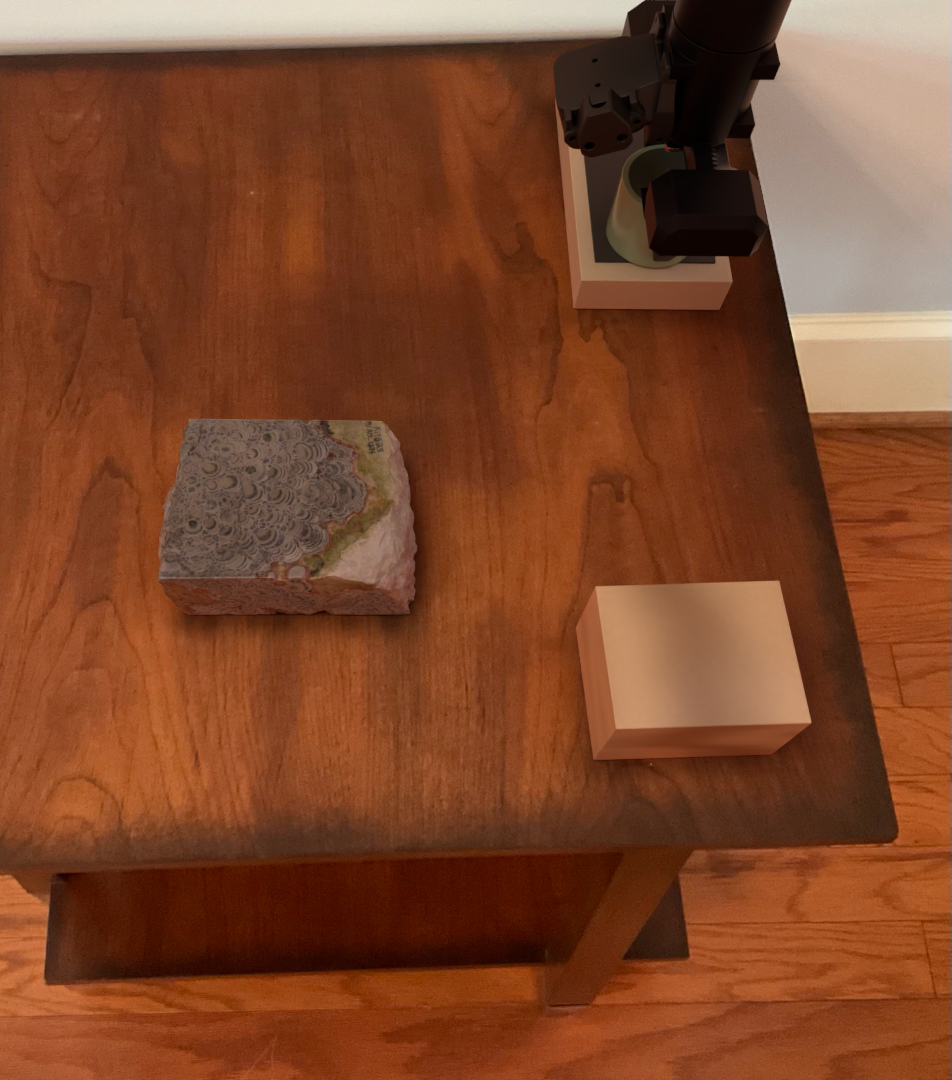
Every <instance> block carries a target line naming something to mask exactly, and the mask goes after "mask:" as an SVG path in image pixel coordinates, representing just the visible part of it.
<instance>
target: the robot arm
mask: <svg viewBox="0 0 952 1080" xmlns="http://www.w3.org/2000/svg"><path fill="white" fill-rule="evenodd" d="M791 3H792V0H643V1H641V2H639V4H637V5H636V6H634V7H633V8H632V9H630V10H629V11H627V13H626V16H625V21H624V25H623V29H622V33H621V36H617V37H612V38H610V39H609V38H608V39H606V40H602V41H598V42H596V43H592V44H589V45H585V46H582V47H581V46H580V47H578V48H577V47H576V48H575V49H571V50H570V49H569V50H567V51H565V52H563V53H561V54H560V55H559V56H558V57H557V58H555V60H554V62H553V65H552V70H553V82H554V83H553V84H554V93H555V99H556V104H557V108H558V112H559V116H560V120H561V124H562V128H563V133H564V141H565V143H566V144H567V145H568V146H569V147H571V148H573V149H580V150H581V154H582V155H584V156H586V157H589V158H592V157H597V156H601V155H605V154H609V153H613V152H617V151H621V150H624V149H627V148H628V147H629V146H630V145H631V144H632V142H633V136H632V133H635V132H637V131H639V130H641V129H642V128H643V127H644V148H645V147H648V146H653V145H660V144H664V145H665V150H666V151H667V152H681V151H683V155H684V161H685V167H686V169H671V170H669V171H667V172H665V173H664V174H662V175H660V176H659V177H657V178H655V179H654V180H652V181H651V182H650V185H649V188H647V187H641V188H640V191H641V199H642V207H643V214H644V219H645V222H646V230H647V237H648V245H649V249H651V250H652V251H653V261H656V262H667V261H670V260H672V259H673V258H675V257H676V256H728V257H736V258H737V257H739V258H742V257H744V258H746V257H747V258H748V257H749V258H750V257H751V256H752V255H753V254H754V253H755V252H756V251H758V249H759V247H760V246H761V243H762V241H763V239H764V237H765V235H766V233H767V231H768V228H769V221H768V218H767V212H766V208H765V201H764V198H763V192H762V187H761V182H760V181H759V180H758V179H757V177H756V176H755V175H754V174H753V173H752V171H750V170H749V169H737V168H735V167H732V166H731V163H730V158H729V152H728V146H727V139H750V138H751V137H752V134H753V131H754V129H755V126H756V122H755V117H754V111H753V106H752V100H753V98H754V95H755V92H756V90H757V88H758V85H759V82H760V81H775V79H776V76H777V75H778V71H779V69H780V66H781V61H780V56H779V52H778V47H777V43H776V40H777V38H778V35H779V34H780V33H779V32H780V30H781V28H782V26H783V23H784V20H785V19H786V16H787V13H788V10H789V8H790V5H791Z"/></svg>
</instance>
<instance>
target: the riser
mask: <svg viewBox="0 0 952 1080" xmlns="http://www.w3.org/2000/svg"><path fill="white" fill-rule="evenodd" d="M575 633H576V641H577V647H578V656H579V663H580V670H581V677H582V678H581V679H582V686H583V691H584V692H583V693H584V700H585V708H586V715H587V723H588V731H589V737H590V745H591V753H592V759H593V761H607V760H611V761H613V760H638V759H640V760H641V759H666V758H667V759H670V758H671V759H673V758H697V757H698V758H704V757H706V758H707V757H734V756H738V757H739V756H766V755H769V756H770V755H773V754H774V753H776V752H777V751H778V750H779V749H781V748H782V747H783V746H784V745H786V744H787V743H788V742H790V741H791V740H792V739H793V738H795V737H796V736H797V735H799V734H800V733H801V732H802V731H803V730H805V729H806V728H807V727H809V726H810V725H811V724H812V717H811V714H810V709H809V705H808V701H807V696H806V692H805V686H804V683H803V679H802V673H801V669H800V666H799V665H800V664H799V661H798V656H797V653H796V652H797V651H796V648H795V643H794V639H793V634H792V629H791V627H790V621H789V617H788V613H787V609H786V604H785V600H784V596H783V591H782V587H781V583H780V580H756V581H755V580H754V581H724V582H723V581H721V582H719V581H718V582H689V583H688V582H687V583H660V584H659V583H658V584H657V583H656V584H655V583H654V584H628V585H625V584H623V585H622V584H621V585H596V586H595V587H594V589H593V590H592V593H591V594H590V597H589V599H588V601H587V603H586V604H585V607H584V609H583V611H582V613H581V615H580V618H579V620H578V622H577V624H576V626H575Z"/></svg>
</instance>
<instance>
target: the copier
mask: <svg viewBox="0 0 952 1080" xmlns="http://www.w3.org/2000/svg"><path fill="white" fill-rule="evenodd" d="M554 104H555V105H554V106H555V117H556V128H557V141H558V149H559V163H560V173H561V185H562V195H563V205H564V206H563V207H564V218H565V229H566V241H567V248H568V249H567V252H568V262H569V263H568V264H569V275H570V285H571V286H570V287H571V297H572V307H573V310H575V309H576V310H577V309H579V310H582V309H583V310H584V309H586V310H590V309H591V310H667V311H668V310H669V311H670V310H674V311H675V310H676V311H678V310H681V311H682V310H684V311H685V310H686V311H720V309H721V307H722V305H723V303H724V302H725V299H726V296H727V295H728V293H729V290H730V289H731V286H732V284H733V276H732V270H731V263H730V258H729V257H728V256H687V257H686V258H685V259H683V260H682V261H680V262H678V263H676V264H674V265H671V266H667V267H659V268H651V267H644V266H640V265H637V264H634V263H632V262H629V261H628V260H626V259H624V258H623V257H621V256H620V255H619V254H618V253H617V252H616V251H615V250H614V249H613V248H612V246H611V245H610V243H609V241H608V238H607V235H606V225H607V221H608V217H609V214H610V210H611V207H612V204H613V200H614V197H615V193H616V190H617V186H618V183H619V179H620V176H621V173H622V169H623V166H624V164H625V162H626V161H627V159H628V158H629V157H630V156H631V155H633V154H634V153H635V152H637V151H638V150H640V149H643V148H644V127H643V128H642V129H641V130H639V131H637V132H635V133H632V136H633V142H632V144H631V145H630V146H629V147H628V148H627V149H624V150H621V151H617V152H613V153H609V154H605V155H601V156H597V157H592V158H589V157H586V156H584V155H582V154H581V150H580V149H573V148H571V147H569V146H568V145H567V144H566V143H565V141H564V133H563V128H562V124H561V120H560V116H559V112H558V108H557V104H556V98H555V100H554Z"/></svg>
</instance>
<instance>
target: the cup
mask: <svg viewBox="0 0 952 1080" xmlns="http://www.w3.org/2000/svg"><path fill="white" fill-rule="evenodd" d="M671 169H686V167H685V161H684V155H683V151H681V152H667V151H666V150H665V145H664V144H660V145H653V146H648V147H645V148H643V149H640V150H638V151H637V152H635V153H634V154H633V155H631V156H630V157H629V158H628V159H627V161H626V162H625V164H624V166H623V169H622V173H621V176H620V179H619V183H618V186H617V190H616V193H615V197H614V200H613V204H612V207H611V210H610V214H609V217H608V221H607V225H606V235H607V238H608V241H609V243H610V245H611V246H612V248H613V249H614V250H615V251H616V252H617V253H618V254H619V255H620V256H621V257H623V258H624V259H626V260H628V261H629V262H632V263H634V264H637V265H640V266H644V267H651V268H659V267H667V266H671V265H674V264H676V263H678V262H680V261H682V260H683V259H685V258H686V257H687V256H676V257H675V258H673V259H672V260H670V261H667V262H656V261H653V251H652V250H651V249H649V245H648V237H647V230H646V222H645V219H644V214H643V207H642V199H641V191H640V188H641V187H647V188H649V185H650V182H651V181H652V180H654V179H655V178H657V177H659V176H660V175H662V174H664V173H665V172H667V171H669V170H671Z"/></svg>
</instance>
